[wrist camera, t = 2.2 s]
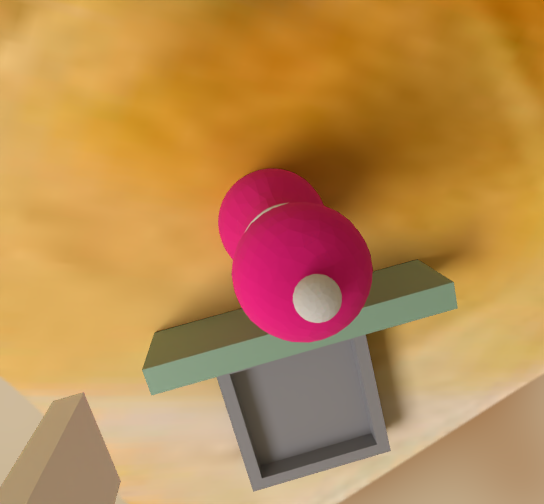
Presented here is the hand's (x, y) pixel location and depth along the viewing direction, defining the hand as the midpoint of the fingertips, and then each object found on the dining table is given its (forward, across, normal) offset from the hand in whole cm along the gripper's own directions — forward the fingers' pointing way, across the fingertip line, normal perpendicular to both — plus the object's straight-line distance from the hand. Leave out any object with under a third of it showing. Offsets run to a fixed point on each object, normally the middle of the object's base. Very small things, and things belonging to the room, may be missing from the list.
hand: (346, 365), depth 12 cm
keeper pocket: (+24, +1, +16) cm, 29 cm away
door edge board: (+24, 0, +8) cm, 25 cm away
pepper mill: (+24, 0, 0) cm, 24 cm away
